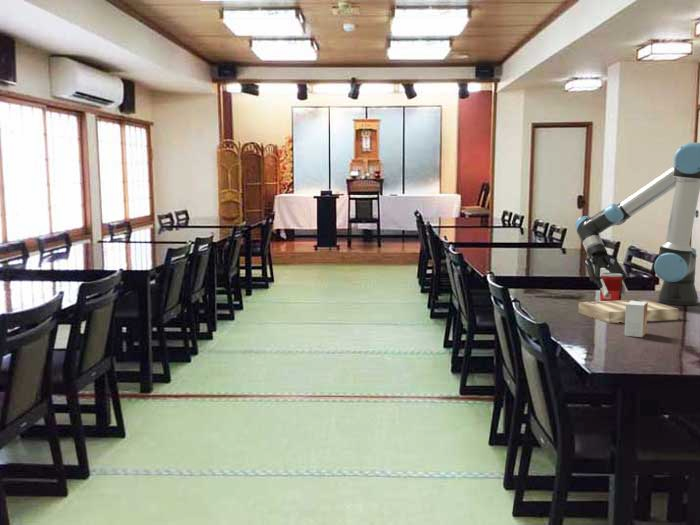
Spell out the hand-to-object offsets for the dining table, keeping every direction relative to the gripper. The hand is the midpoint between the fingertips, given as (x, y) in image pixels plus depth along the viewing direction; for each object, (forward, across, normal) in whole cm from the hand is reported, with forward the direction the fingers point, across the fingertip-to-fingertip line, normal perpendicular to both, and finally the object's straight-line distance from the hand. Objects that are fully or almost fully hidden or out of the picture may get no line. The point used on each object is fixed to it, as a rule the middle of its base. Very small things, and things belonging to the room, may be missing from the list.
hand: (615, 293), depth 268 cm
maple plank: (+15, +5, +7) cm, 17 cm away
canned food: (0, 0, -5) cm, 5 cm away
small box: (+35, +21, +27) cm, 48 cm away
